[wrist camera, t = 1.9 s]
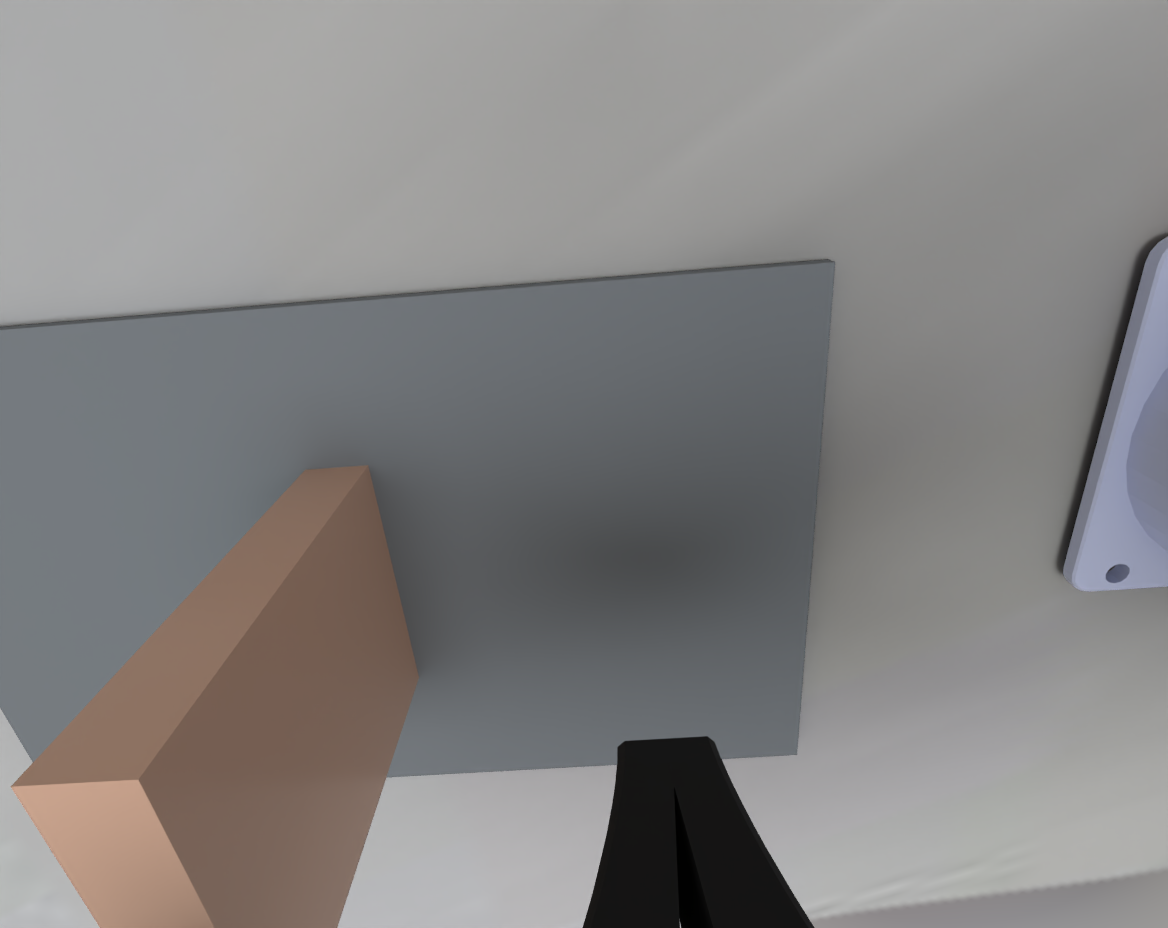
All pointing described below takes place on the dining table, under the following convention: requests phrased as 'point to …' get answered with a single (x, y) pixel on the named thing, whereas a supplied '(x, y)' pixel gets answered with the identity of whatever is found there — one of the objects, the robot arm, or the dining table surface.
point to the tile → (242, 731)
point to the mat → (448, 498)
